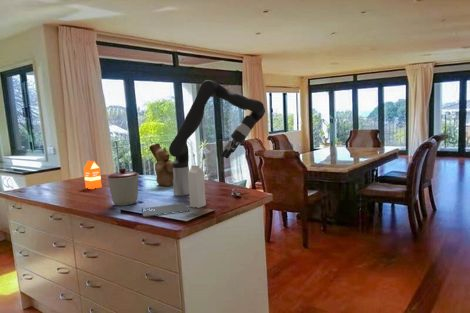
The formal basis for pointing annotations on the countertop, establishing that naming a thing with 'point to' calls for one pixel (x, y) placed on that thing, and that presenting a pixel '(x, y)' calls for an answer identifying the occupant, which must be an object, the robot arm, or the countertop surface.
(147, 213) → the mat
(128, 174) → the canister
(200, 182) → the milk
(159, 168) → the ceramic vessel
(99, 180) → the orange juice
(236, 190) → the countertop surface
